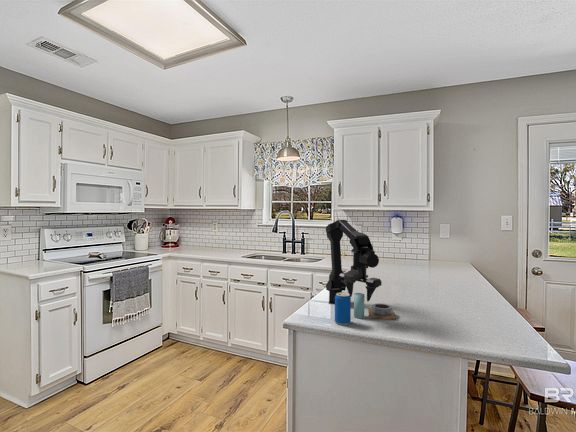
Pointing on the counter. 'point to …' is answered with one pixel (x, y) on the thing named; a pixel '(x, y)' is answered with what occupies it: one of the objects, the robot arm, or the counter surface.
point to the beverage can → (342, 308)
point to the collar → (382, 309)
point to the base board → (371, 315)
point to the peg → (359, 305)
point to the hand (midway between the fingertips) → (359, 299)
